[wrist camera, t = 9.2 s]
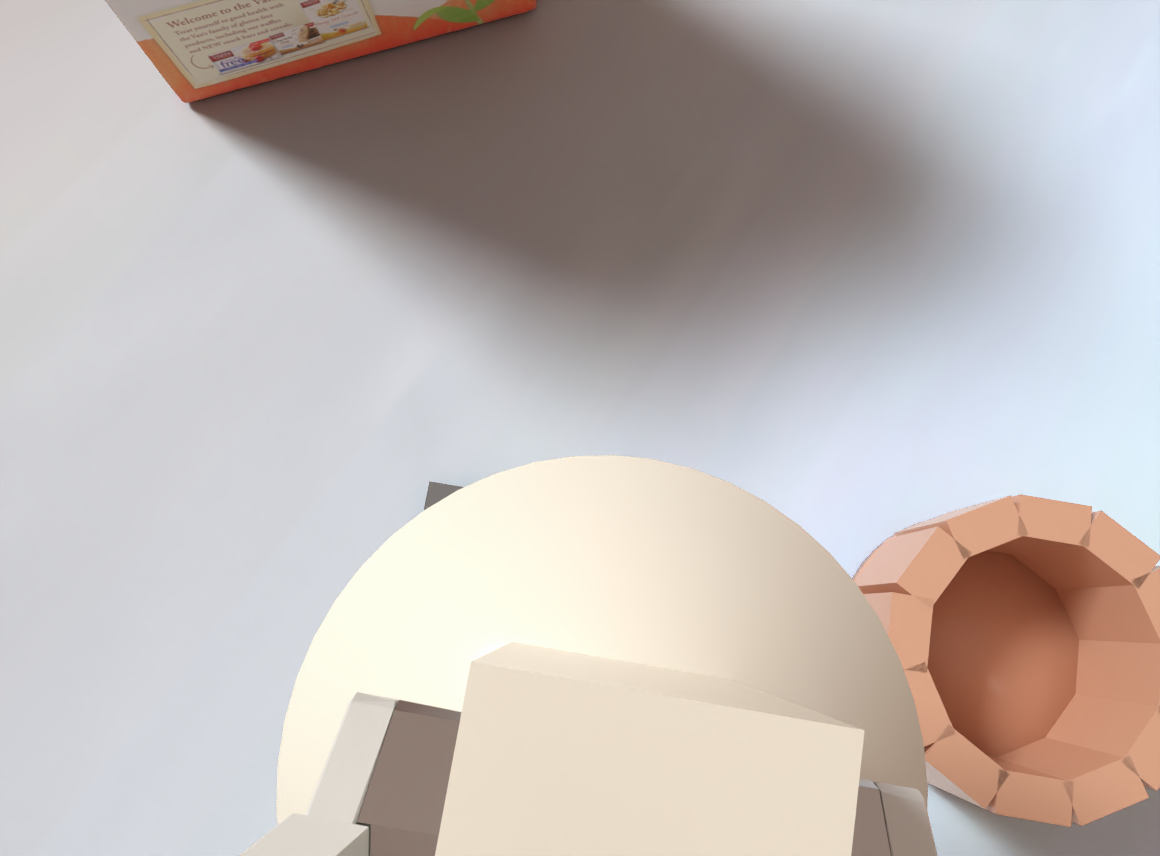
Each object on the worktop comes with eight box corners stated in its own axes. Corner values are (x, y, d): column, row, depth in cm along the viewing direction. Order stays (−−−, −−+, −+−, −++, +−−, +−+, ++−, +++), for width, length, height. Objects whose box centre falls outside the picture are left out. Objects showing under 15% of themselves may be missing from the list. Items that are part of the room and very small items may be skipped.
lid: (234, 1039, 15) (-124, 1498, 7) (367, 422, 17) (198, 257, 9) (866, 1153, 15) (1202, 1751, 7) (928, 517, 17) (1246, 432, 9)
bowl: (821, 763, 32) (871, 792, 27) (851, 496, 34) (904, 475, 28) (1091, 810, 32) (1195, 848, 26) (1108, 539, 33) (1208, 526, 28)
